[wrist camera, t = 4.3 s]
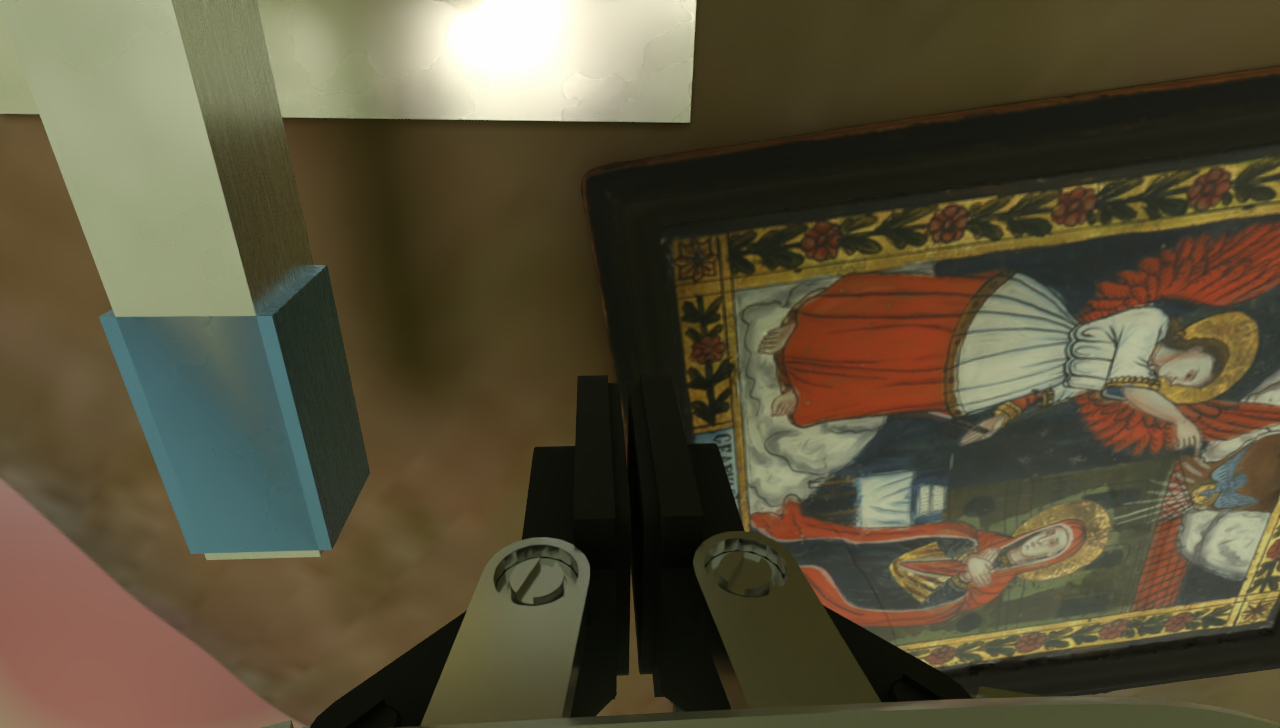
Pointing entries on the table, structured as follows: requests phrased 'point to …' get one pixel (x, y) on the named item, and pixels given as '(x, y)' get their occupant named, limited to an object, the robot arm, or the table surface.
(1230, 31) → the table surface
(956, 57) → the table surface
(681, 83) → the valve
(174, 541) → the table surface
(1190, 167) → the religious icon
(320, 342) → the lever
